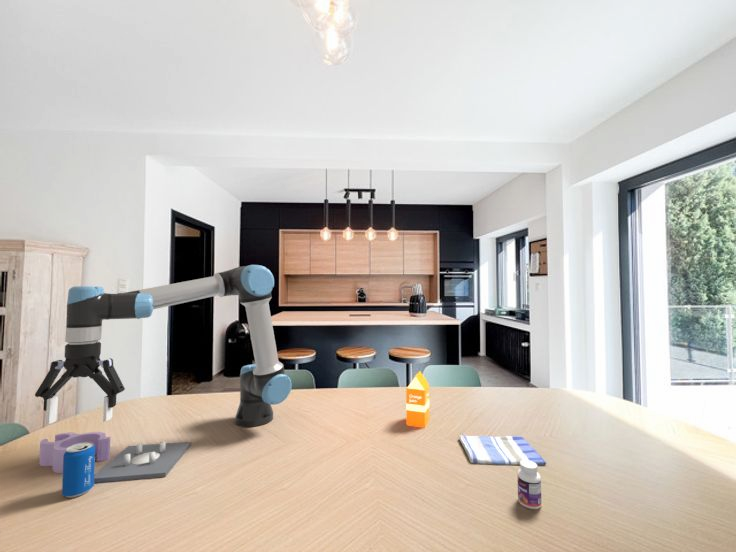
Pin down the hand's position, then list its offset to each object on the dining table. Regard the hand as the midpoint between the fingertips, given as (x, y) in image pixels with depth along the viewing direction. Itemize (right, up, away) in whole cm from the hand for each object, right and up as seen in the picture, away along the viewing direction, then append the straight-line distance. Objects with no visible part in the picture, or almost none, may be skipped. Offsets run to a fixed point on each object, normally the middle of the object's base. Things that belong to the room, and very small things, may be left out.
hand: (79, 421), depth 89 cm
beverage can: (0, -19, -1) cm, 19 cm away
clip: (-16, -20, +15) cm, 30 cm away
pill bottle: (+120, -19, -6) cm, 121 cm away
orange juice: (+99, -21, +46) cm, 111 cm away
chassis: (+8, -20, +15) cm, 26 cm away
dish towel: (+122, -20, +21) cm, 126 cm away
